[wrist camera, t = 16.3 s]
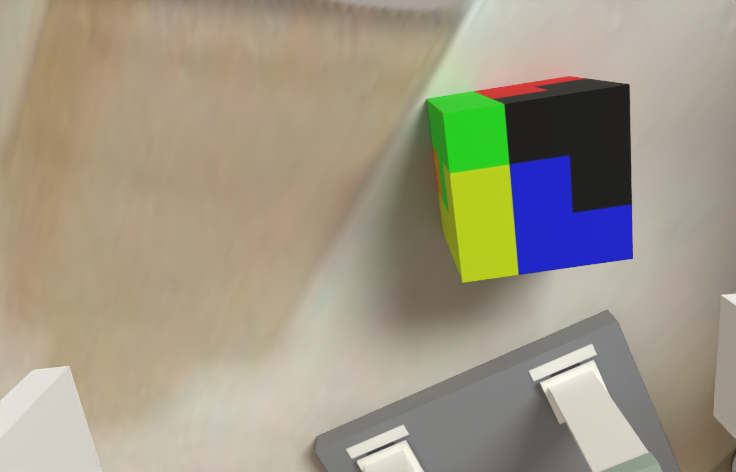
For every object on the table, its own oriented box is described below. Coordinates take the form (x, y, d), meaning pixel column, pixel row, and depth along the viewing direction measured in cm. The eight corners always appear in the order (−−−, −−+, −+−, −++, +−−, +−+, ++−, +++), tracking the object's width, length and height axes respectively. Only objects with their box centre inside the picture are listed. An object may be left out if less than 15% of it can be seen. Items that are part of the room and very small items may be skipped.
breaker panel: (317, 436, 50) (314, 452, 48) (607, 309, 46) (618, 321, 44) (399, 567, 54) (400, 587, 52) (671, 461, 50) (683, 478, 48)
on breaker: (539, 382, 45) (590, 483, 35) (593, 359, 45) (662, 455, 34) (558, 421, 46) (613, 531, 36) (611, 400, 46) (683, 505, 35)
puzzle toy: (575, 213, 44) (632, 258, 34) (442, 232, 44) (462, 282, 35) (568, 76, 41) (629, 84, 31) (426, 98, 41) (443, 113, 32)
